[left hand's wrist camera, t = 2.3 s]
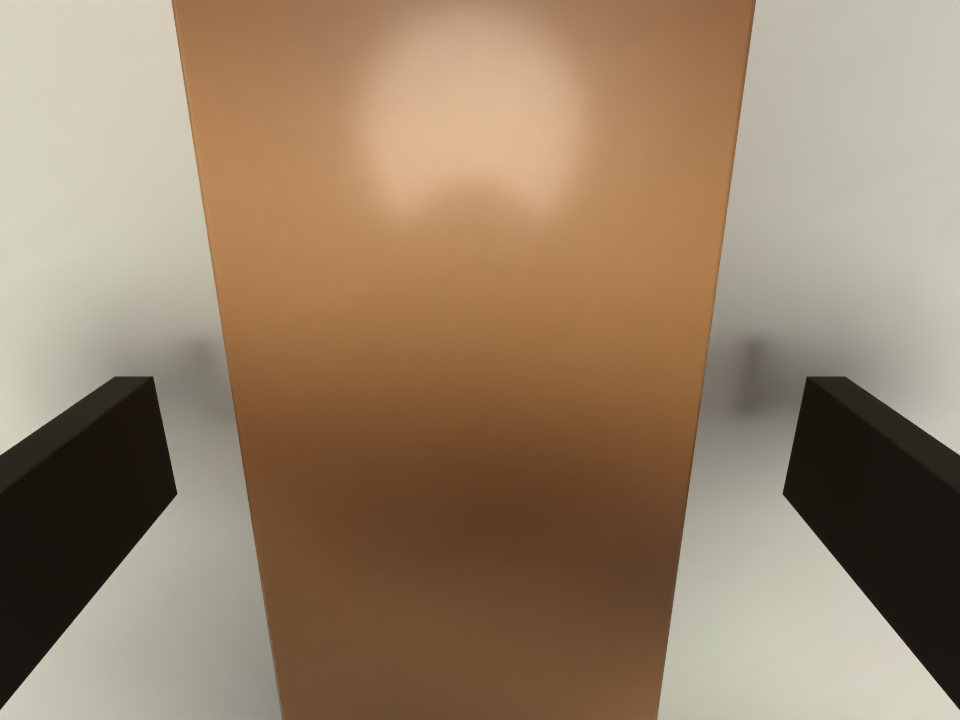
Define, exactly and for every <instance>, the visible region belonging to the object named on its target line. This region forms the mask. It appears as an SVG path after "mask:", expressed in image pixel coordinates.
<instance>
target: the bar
mask: <svg viewBox="0 0 960 720" xmlns="http://www.w3.org/2000/svg"><path fill="white" fill-rule="evenodd" d="M755 3H756V0H172V6H173V13H174V19H175V26H176V32H177V39H178V45H179V52H180V58H181V65H182V71H183V78H184V84H185V91H186V97H187V104H188V110H189V117H190V123H191V130H192V136H193V143H194V149H195V156H196V162H197V169H198V175H199V182H200V188H201V195H202V201H203V208H204V214H205V221H206V227H207V234H208V240H209V247H210V253H211V260H212V266H213V273H214V279H215V286H216V292H217V299H218V305H219V312H220V318H221V325H222V331H223V338H224V344H225V351H226V357H227V364H228V370H229V377H230V383H231V390H232V396H233V403H234V409H235V416H236V422H237V429H238V435H239V442H240V448H241V455H242V461H243V468H244V474H245V481H246V487H247V494H248V500H249V507H250V513H251V520H252V526H253V533H254V539H255V546H256V552H257V559H258V565H259V572H260V578H261V585H262V591H263V598H264V604H265V611H266V617H267V624H268V630H269V637H270V643H271V650H272V656H273V663H274V669H275V676H276V682H277V689H278V695H279V702H280V708H281V715H282V720H657V716H658V708H659V701H660V694H661V687H662V679H663V672H664V665H665V658H666V650H667V643H668V636H669V628H670V621H671V614H672V607H673V599H674V592H675V585H676V578H677V570H678V563H679V556H680V548H681V541H682V534H683V527H684V519H685V512H686V505H687V498H688V490H689V483H690V476H691V468H692V461H693V454H694V447H695V439H696V432H697V425H698V418H699V410H700V403H701V396H702V388H703V381H704V374H705V367H706V359H707V352H708V345H709V338H710V330H711V323H712V316H713V308H714V301H715V294H716V287H717V279H718V272H719V265H720V258H721V250H722V243H723V236H724V228H725V221H726V214H727V207H728V199H729V192H730V185H731V178H732V170H733V163H734V156H735V148H736V141H737V134H738V127H739V119H740V112H741V105H742V98H743V90H744V83H745V76H746V68H747V61H748V54H749V47H750V39H751V32H752V25H753V18H754V10H755Z"/></svg>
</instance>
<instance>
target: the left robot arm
mask: <svg viewBox="0 0 960 720" xmlns="http://www.w3.org/2000/svg"><path fill="white" fill-rule="evenodd" d="M176 495H177V490H176V485H175V480H174V475H173V471H172V466H171V461H170V456H169V451H168V446H167V442H166V437H165V432H164V427H163V422H162V417H161V413H160V408H159V403H158V398H157V393H156V388H155V384H154V379H153V377H114V378H112V379H111V380H109V381H108V382H106V383H105V384H103V385H102V386H100V387H99V388H98V389H96V390H95V391H93V392H92V393H90V394H89V395H87V396H86V397H85V398H83V399H82V400H80V401H79V402H77V403H76V404H74V405H73V406H71V407H70V408H69V409H67V410H66V411H64V412H63V413H61V414H60V415H58V416H57V417H55V418H54V419H53V420H51V421H50V422H48V423H47V424H45V425H44V426H42V427H41V428H39V429H38V430H37V431H35V432H34V433H32V434H31V435H29V436H28V437H26V438H25V439H23V440H22V441H21V442H19V443H18V444H16V445H15V446H13V447H12V448H10V449H9V450H7V451H6V452H5V453H3V454H2V455H0V710H1V708H2V707H3V706H4V705H5V703H6V702H7V701H8V700H9V699H10V697H11V696H12V695H13V694H14V692H15V691H16V690H17V689H18V688H19V686H20V685H21V684H22V683H23V682H24V680H25V679H26V678H27V677H28V675H29V674H30V673H31V672H32V671H33V669H34V668H35V667H36V666H37V664H38V663H39V662H40V661H41V660H42V658H43V657H44V656H45V655H46V654H47V652H48V651H49V650H50V649H51V647H52V646H53V645H54V644H55V643H56V641H57V640H58V639H59V638H60V636H61V635H62V634H63V633H64V632H65V630H66V629H67V628H68V627H69V625H70V624H71V623H72V622H73V621H74V619H75V618H76V617H77V616H78V615H79V613H80V612H81V611H82V610H83V608H84V607H85V606H86V605H87V604H88V602H89V601H90V600H91V599H92V597H93V596H94V595H95V594H96V593H97V591H98V590H99V589H100V588H101V587H102V585H103V584H104V583H105V582H106V580H107V579H108V578H109V577H110V576H111V574H112V573H113V572H114V571H115V569H116V568H117V567H118V566H119V565H120V563H121V562H122V561H123V560H124V558H125V557H126V556H127V555H128V554H129V552H130V551H131V550H132V549H133V548H134V546H135V545H136V544H137V543H138V541H139V540H140V539H141V538H142V537H143V535H144V534H145V533H146V532H147V530H148V529H149V528H150V527H151V526H152V524H153V523H154V522H155V521H156V520H157V518H158V517H159V516H160V515H161V513H162V512H163V511H164V510H165V509H166V507H167V506H168V505H169V504H170V502H171V501H172V500H173V499H174V498H175V496H176ZM783 495H784V496H785V498H786V499H787V500H788V501H789V502H790V504H791V505H792V506H793V507H794V509H795V510H796V511H797V512H798V513H799V515H800V516H801V517H802V518H803V520H804V521H805V522H806V523H807V524H808V526H809V527H810V528H811V529H812V530H813V532H814V533H815V534H816V535H817V537H818V538H819V539H820V540H821V541H822V543H823V544H824V545H825V546H826V548H827V549H828V550H829V551H830V552H831V554H832V555H833V556H834V557H835V558H836V560H837V561H838V562H839V563H840V565H841V566H842V567H843V568H844V569H845V571H846V572H847V573H848V574H849V576H850V577H851V578H852V579H853V580H854V582H855V583H856V584H857V585H858V587H859V588H860V589H861V590H862V591H863V593H864V594H865V595H866V596H867V597H868V599H869V600H870V601H871V602H872V604H873V605H874V606H875V607H876V608H877V610H878V611H879V612H880V613H881V615H882V616H883V617H884V618H885V619H886V621H887V622H888V623H889V624H890V625H891V627H892V628H893V629H894V630H895V632H896V633H897V634H898V635H899V636H900V638H901V639H902V640H903V641H904V643H905V644H906V645H907V646H908V647H909V649H910V650H911V651H912V652H913V654H914V655H915V656H916V657H917V658H918V660H919V661H920V662H921V663H922V664H923V666H924V667H925V668H926V669H927V671H928V672H929V673H930V674H931V675H932V677H933V678H934V679H935V680H936V682H937V683H938V684H939V685H940V686H941V688H942V689H943V690H944V691H945V692H946V694H947V695H948V696H949V697H950V699H951V700H952V701H953V702H954V703H955V705H956V706H957V707H958V708H959V710H960V455H958V454H957V453H955V452H954V451H953V450H951V449H950V448H948V447H947V446H945V445H944V444H942V443H941V442H939V441H938V440H937V439H935V438H934V437H932V436H931V435H929V434H928V433H926V432H925V431H923V430H922V429H921V428H919V427H918V426H916V425H915V424H913V423H912V422H910V421H909V420H907V419H906V418H905V417H903V416H902V415H900V414H899V413H897V412H896V411H894V410H893V409H891V408H890V407H889V406H887V405H886V404H884V403H883V402H881V401H880V400H878V399H877V398H875V397H874V396H873V395H871V394H870V393H868V392H867V391H865V390H864V389H862V388H861V387H860V386H858V385H857V384H855V383H854V382H852V381H851V380H849V379H848V378H846V377H807V379H806V384H805V388H804V393H803V398H802V403H801V408H800V413H799V417H798V422H797V427H796V432H795V437H794V442H793V446H792V451H791V456H790V461H789V466H788V471H787V475H786V480H785V485H784V490H783Z"/></svg>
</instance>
